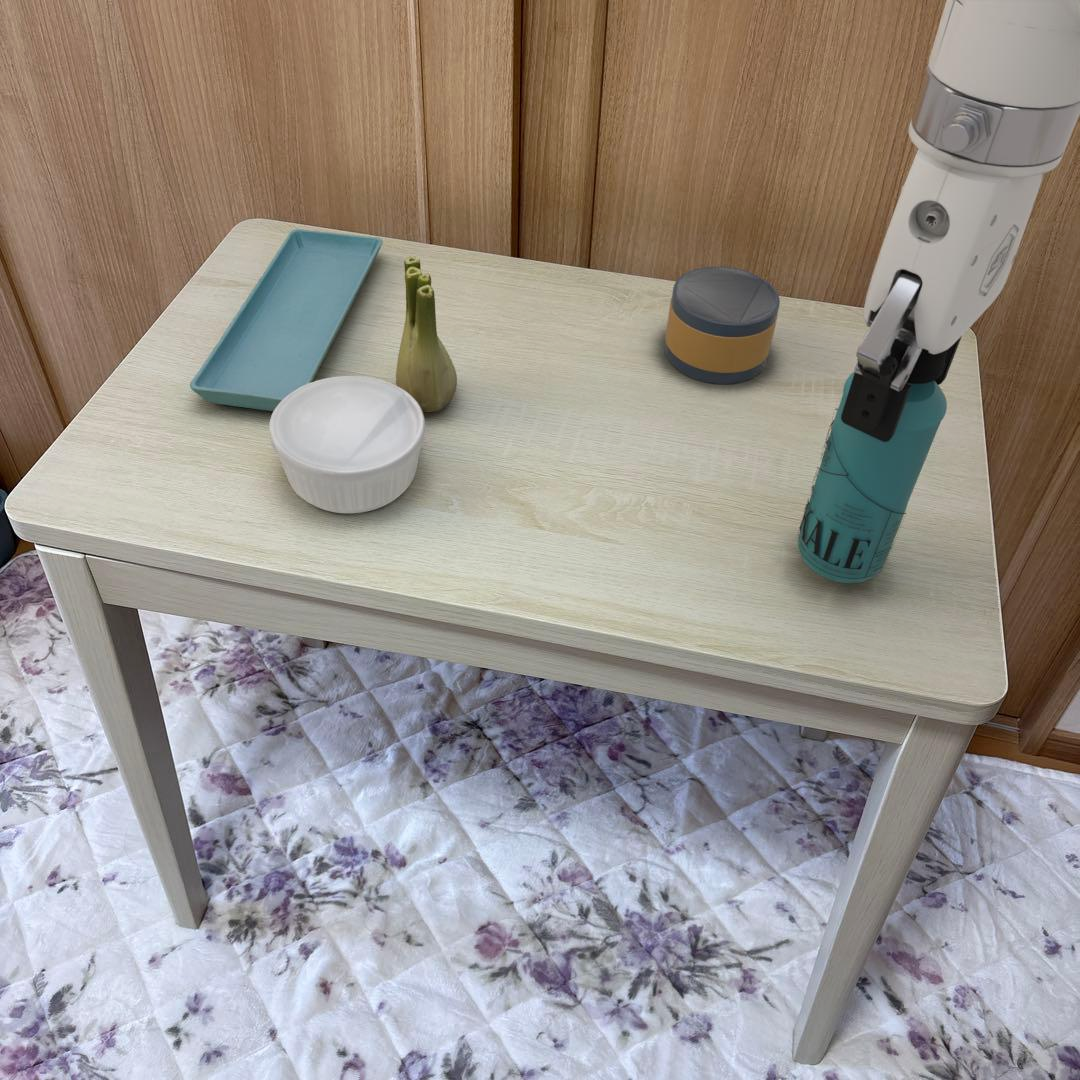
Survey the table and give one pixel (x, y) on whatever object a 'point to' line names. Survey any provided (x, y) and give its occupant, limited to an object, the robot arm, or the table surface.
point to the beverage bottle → (870, 479)
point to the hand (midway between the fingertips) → (893, 399)
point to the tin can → (721, 324)
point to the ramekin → (348, 442)
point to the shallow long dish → (287, 320)
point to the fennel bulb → (423, 345)
